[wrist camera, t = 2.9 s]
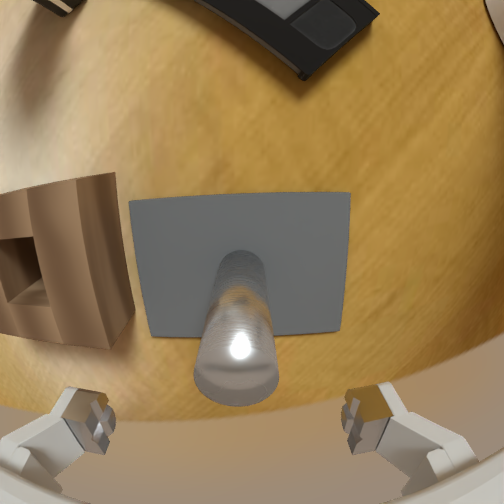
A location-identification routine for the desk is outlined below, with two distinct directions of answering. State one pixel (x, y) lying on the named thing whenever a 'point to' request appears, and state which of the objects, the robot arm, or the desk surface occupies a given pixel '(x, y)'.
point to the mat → (249, 239)
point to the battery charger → (59, 5)
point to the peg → (238, 335)
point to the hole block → (64, 263)
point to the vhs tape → (297, 26)
